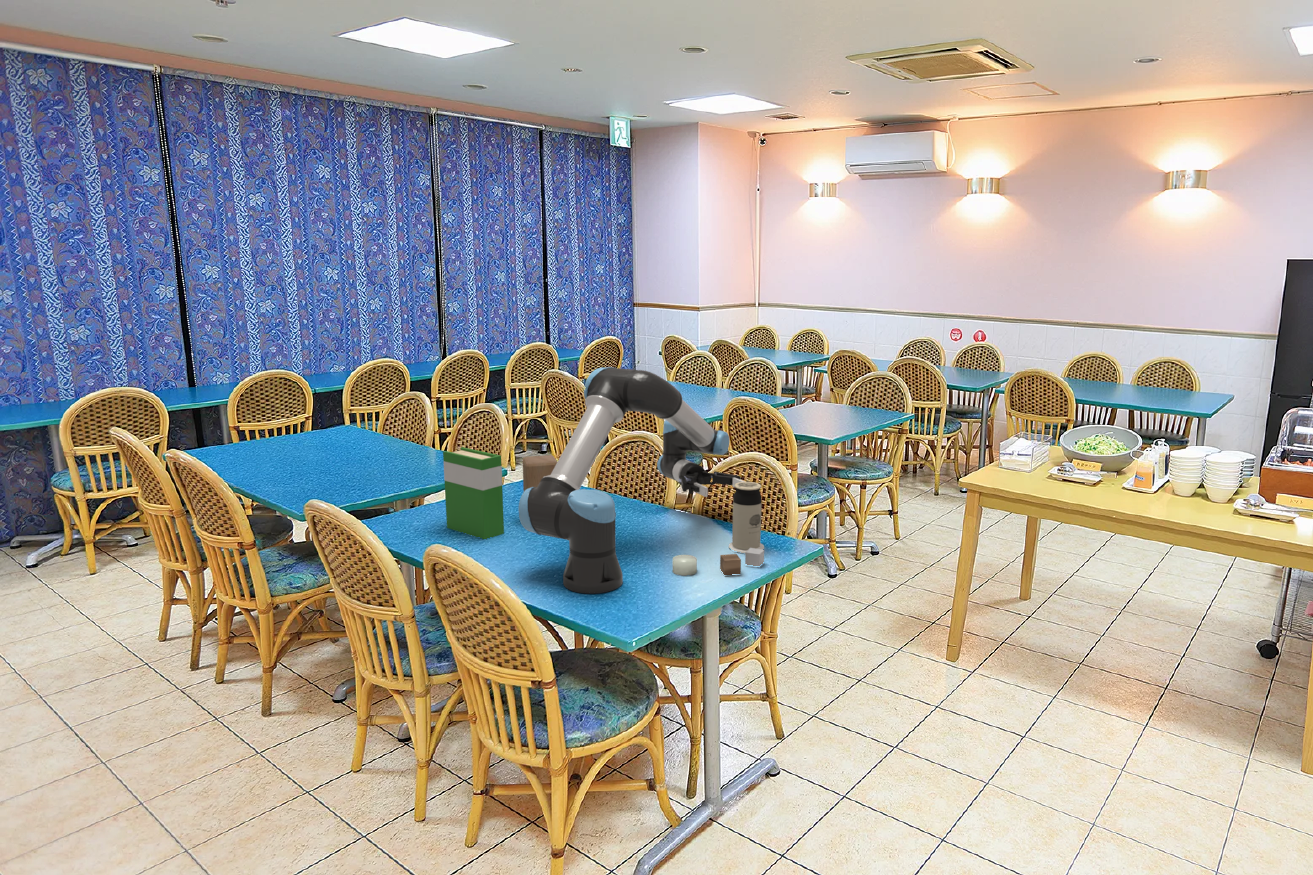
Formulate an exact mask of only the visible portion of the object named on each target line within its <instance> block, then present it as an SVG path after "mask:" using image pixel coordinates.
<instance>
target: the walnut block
mask: <svg viewBox="0 0 1313 875" xmlns="http://www.w3.org/2000/svg"><path fill="white" fill-rule="evenodd" d="M719 558H720V559H719V570H720V569H721V571H722V572H723V574H724V575H732V574H742V572H741V571H742V559H741V557H739V555H738V553H729V554H719ZM721 571H720V572H721ZM722 572H721V573H722ZM723 574H722V575H723ZM724 575H723V576H724Z"/></svg>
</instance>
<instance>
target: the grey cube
mask: <svg viewBox="0 0 1313 875" xmlns="http://www.w3.org/2000/svg"><path fill="white" fill-rule="evenodd" d="M744 556H745V557H744V558H745V560H744V561H745V562H744V563H745V564H747V565H753V566H760V565H761V564H763V562H764V563H765V549H764V550H762V549H755V548H749V549H748V550H747V551H746V552H745V554H744ZM745 564H744V565H745ZM763 565H764V564H763Z"/></svg>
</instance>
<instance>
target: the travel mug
mask: <svg viewBox="0 0 1313 875" xmlns="http://www.w3.org/2000/svg"><path fill="white" fill-rule="evenodd" d="M734 486H735V487H734V488H735V491H734V494H733V497H732V498H733V500H732V501H733V502H732V530H731V531H732V533H731V534H732V535H731V536H732V537H731V543H732V545H733V546H734V547H736V548H738V549H742V550H748V549H749V548H755V549H756V548H758V547H760V543H761V535H762V533H761V532H762V531H761V529H762V504H763V503H762V500H763V499H762V498H763V497H762V495H761V492H760V491H761V488H762V485H761V483H758V482H754V481H753V482H752V481H745V482H739V483H736V484H735V485H734Z"/></svg>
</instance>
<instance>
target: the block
mask: <svg viewBox="0 0 1313 875" xmlns="http://www.w3.org/2000/svg"><path fill="white" fill-rule="evenodd" d="M557 462H558V460H557V459H556V457H555V456H554V455H553V454H545V455H532V456H531V455H529V456H524V457H523V458H522V480H523V481H522V484H523V492H524V491H525V490H526V489H528V488H531V487H536V488H537V486H538V485H539V483H540V481H541V479H542V478H543V477H544V476H549V475H551V473H552V471H553V469H554V468H555V466H556V464H557Z"/></svg>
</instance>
